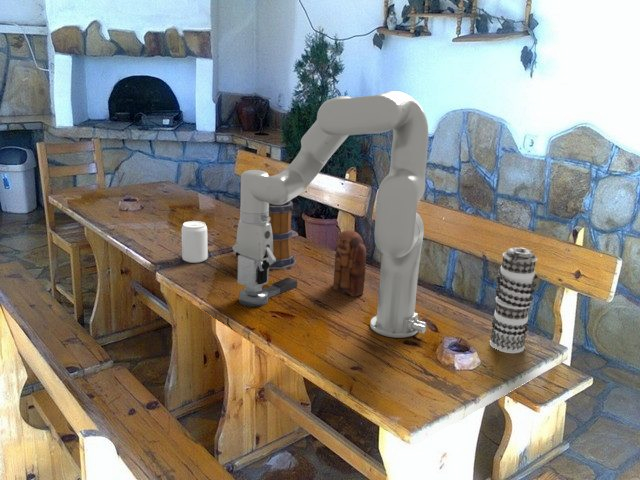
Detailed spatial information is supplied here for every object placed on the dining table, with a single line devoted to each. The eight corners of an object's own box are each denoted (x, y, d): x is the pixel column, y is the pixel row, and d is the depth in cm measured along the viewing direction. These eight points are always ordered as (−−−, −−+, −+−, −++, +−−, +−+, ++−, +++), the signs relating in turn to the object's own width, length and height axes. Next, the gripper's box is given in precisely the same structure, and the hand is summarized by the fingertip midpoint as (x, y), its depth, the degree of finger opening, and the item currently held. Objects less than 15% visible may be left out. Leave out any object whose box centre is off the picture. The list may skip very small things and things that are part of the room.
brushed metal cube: (268, 283, 180) (269, 255, 178) (253, 288, 176) (253, 261, 173) (252, 277, 184) (253, 250, 181) (237, 282, 179) (237, 255, 177)
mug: (241, 252, 220) (241, 194, 214) (280, 247, 226) (282, 191, 220) (260, 271, 203) (261, 209, 197) (303, 266, 209) (305, 206, 203)
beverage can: (179, 256, 213) (178, 221, 209) (203, 254, 216) (203, 219, 212) (185, 265, 206) (184, 228, 202) (210, 262, 209) (210, 226, 205)
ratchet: (303, 288, 192) (304, 269, 190) (253, 309, 176) (254, 288, 174) (283, 281, 196) (283, 262, 194) (233, 301, 180) (233, 281, 179)
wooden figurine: (325, 286, 194) (328, 228, 188) (341, 281, 198) (344, 225, 192) (353, 299, 186) (357, 239, 180) (369, 293, 190) (373, 235, 184)
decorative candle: (497, 333, 168) (510, 241, 160) (531, 345, 163) (546, 250, 155) (481, 345, 161) (494, 250, 154) (516, 357, 156) (531, 259, 148)
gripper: (288, 221, 171) (285, 284, 177) (241, 207, 181) (240, 268, 187) (268, 226, 166) (266, 292, 171) (221, 212, 176) (221, 274, 181)
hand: (253, 279), depth 179 cm, fingers closed on brushed metal cube, 6 cm apart
